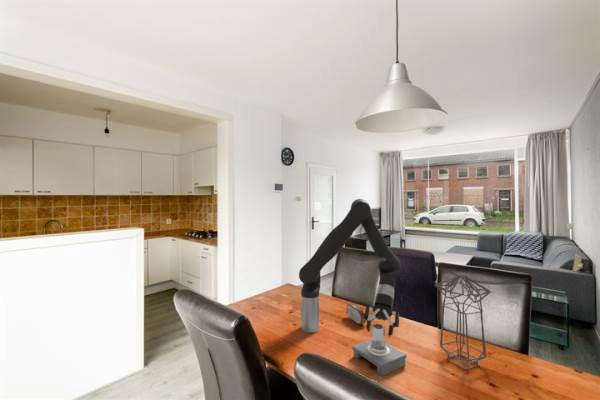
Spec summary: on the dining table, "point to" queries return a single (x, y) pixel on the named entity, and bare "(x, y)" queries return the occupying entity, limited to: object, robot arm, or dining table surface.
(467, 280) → the geometric lantern
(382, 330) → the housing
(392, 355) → the stand
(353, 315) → the tin
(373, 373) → the dining table surface
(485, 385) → the dining table surface
